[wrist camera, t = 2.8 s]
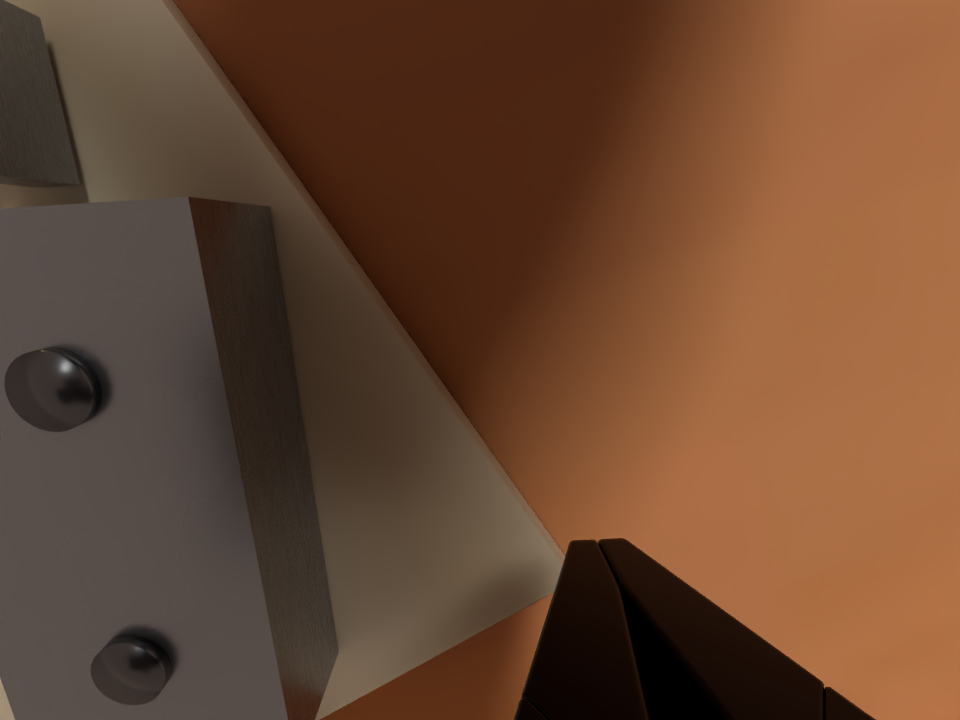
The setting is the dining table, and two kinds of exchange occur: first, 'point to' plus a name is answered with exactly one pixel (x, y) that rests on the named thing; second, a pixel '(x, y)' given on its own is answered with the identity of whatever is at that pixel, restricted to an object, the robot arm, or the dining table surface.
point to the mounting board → (309, 351)
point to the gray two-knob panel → (146, 447)
